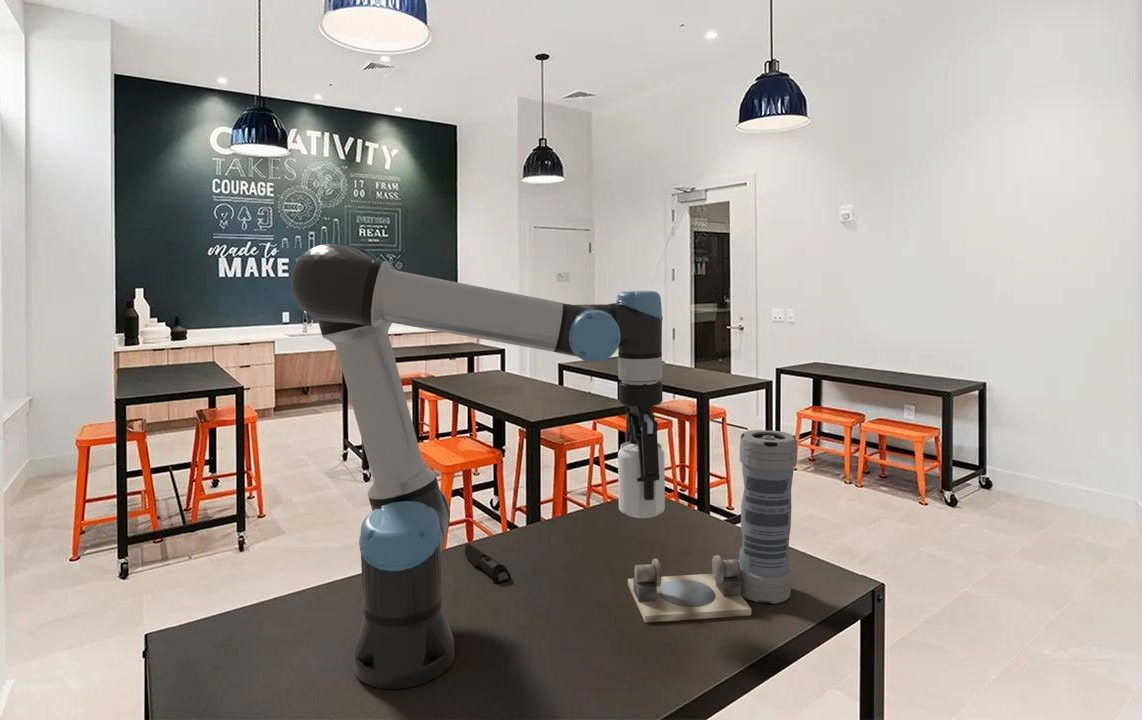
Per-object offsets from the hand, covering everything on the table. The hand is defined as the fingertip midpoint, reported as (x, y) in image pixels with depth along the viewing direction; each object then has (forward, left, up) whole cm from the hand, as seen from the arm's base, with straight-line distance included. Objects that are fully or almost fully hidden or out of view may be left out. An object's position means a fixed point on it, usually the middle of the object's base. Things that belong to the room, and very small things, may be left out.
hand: (641, 507), depth 118 cm
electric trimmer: (-28, +18, -19) cm, 38 cm away
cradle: (+9, +1, -18) cm, 20 cm away
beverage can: (0, 0, -1) cm, 1 cm away
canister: (+24, +2, -18) cm, 30 cm away
